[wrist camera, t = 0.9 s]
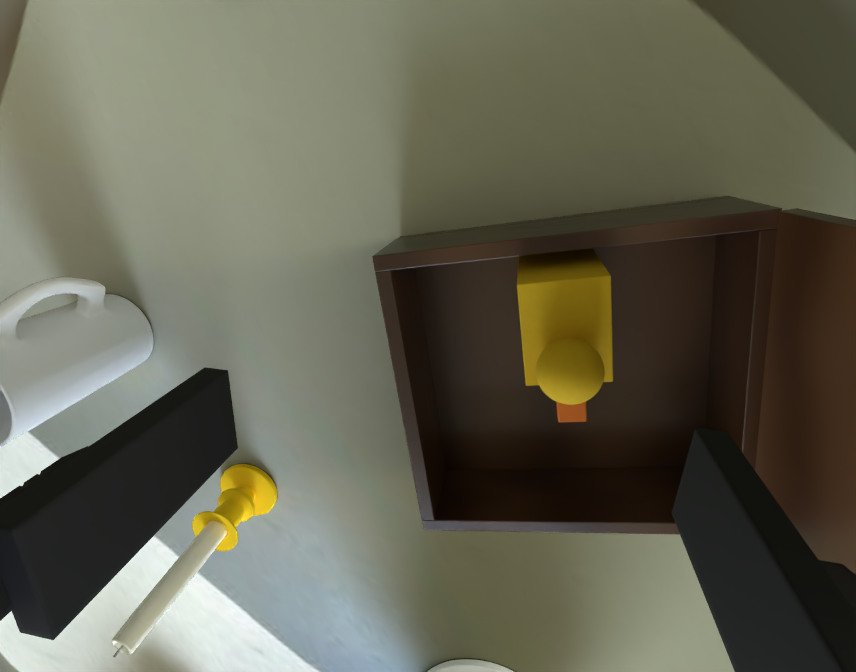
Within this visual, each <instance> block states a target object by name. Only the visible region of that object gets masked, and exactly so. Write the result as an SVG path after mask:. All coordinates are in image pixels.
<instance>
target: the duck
mask: <svg viewBox="0 0 856 672" xmlns="http://www.w3.org/2000/svg"><path fill="white" fill-rule="evenodd" d="M517 293H518V304H519V316H520V327H521V338H522V349H523V360H524V372H525V383H526V386H534V385H539V386H540V387H541V389H542V391H543V392H544V393H545V394H546V395H547V396H548V397H550V398H551V399H552V400H554V401H556V403H557V417H558V422H585V421H587V411H586V401H587V400H589V399H591V398H592V397H593V396H595V394H596V393H597V392H598V391H599V390H600V388H601V386H602V384H603V382H612V381H613V349H612V304H611V276H610V274H609V273H608V271H607V270H606V268H605V266H604V265H603V263H602V262H601V260H600V259H599V257H598V256H597V254H596V253H595V251H594V250H593V248H591V249H582V250H572V251H563V252H554V253H545V254H536V255H526V256H519V260H518V275H517Z"/></svg>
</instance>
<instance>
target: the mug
mask: <svg viewBox="0 0 856 672" xmlns="http://www.w3.org/2000/svg"><path fill="white" fill-rule="evenodd" d="M66 293H73V294H77V296H78V298H77V302H75V303H71V304H68V305H65V306H62V307H59V308H56V309H53V310H50V311H46V312H43V313H40V314H37V315H34V316H31V317H27V318H24V319H21V320H19V319H20V318H21V316H22V315H23V314H24V313H25V312H26V311H27V310H28V309H29V308H30V307H31V306H33V305H34V304H35V303H37V302H39V301H40V300H42V299H44V298H47V297H50V296H53V295H57V294H66ZM153 342H154V340H153V332H152V329H151V326H150V324H149V322H148V320H147V318H146V317H145V315H144V314H143V313H142V311H141V310H140V309H139V308H138V307H137V306H136V305H134V304H133V303H132V302H130V301H129V300H127V299H125V298H123V297H120V296H117V295H113V294H105V287H104V286H103V285H102V284H100V283H98V282H96V281H94V280H87V279H79V278H71V277H58V278H51V279H46V280H42V281H39V282H36V283H34V284H32V285H29V286H27V287H25V288H23V289H21V290H20V291H18V292H16V293H14V294H13V295H11V296H10V297H8V298H6V299H5V300H4V301H2V302H1V303H0V447H2V446H4V445H5V444H7V443H8V442H10V441H11V440H13V439H15V438H17V437H18V436H20V435H22V434H24V433H26V432H27V431H29V430H31V429H33V428H34V427H36V426H38V425H39V424H41V423H43V422H44V421H46V420H48V419H49V418H51V417H53V416H54V415H56V414H58V413H59V412H61V411H63V410H64V409H66V408H68V407H69V406H71V405H73V404H74V403H76V402H78V401H79V400H81V399H83V398H84V397H86V396H88V395H89V394H91V393H93V392H95V391H96V390H98V389H100V388H101V387H103V386H105V385H106V384H108V383H110V382H112V381H113V380H115V379H117V378H118V377H120V376H122V375H123V374H125V373H126V372H128V371H130V370H131V369H133V368H135V367H136V366H138V365H140V364H141V363H143V362H144V361H145V360H146V359H147V358H148V357H149V356H150V354H151V352H152V349H153Z"/></svg>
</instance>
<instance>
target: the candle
mask: <svg viewBox="0 0 856 672" xmlns="http://www.w3.org/2000/svg"><path fill="white" fill-rule="evenodd" d="M220 486H221V491H222V493H221V494H220V496H219V498H218V505H219V506H218V507H217V508H216V509H215V511H214V512H211V511H204V512H201V513H199V514H198V515H196V516H195V518H194V519H193V523H192V527H193V531H194V533H195V535H196V538H195V539H194V540H193V542H192V543H191V544H190V545H189V546H188V548H187V549H186V550H185V551H184V552H183V554H182V555H181V556H180V557H179V558H178V560H177V561H176V562H175V563H174V564H173V566H172V567H171V568H170V569H169V570H168V572H167V573H166V574H165V575H164V576H163V578H162V579H161V580H160V581H159V582H158V584H157V585H156V586H155V587H154V588H153V590H152V591H151V592H150V593H149V594H148V596H147V597H146V598H145V599H144V600H143V602H142V603H141V604H140V605H139V606H138V608H137V609H136V610H135V611H134V612H133V614H132V615H131V616H130V617H129V619H128V620H127V621H126V622H125V624H124V625H123V626H122V628H121V629H120V630H119V631H118V633H117V634H116V635H115V637H114V638H113V639H112V641H111V642H112V644H113V645H114V646H115V647H116V648H117V649H118V651H117V652H116V654H115V655H114V656H113V657H115V656H116V655H117V654H118V653H119V652H120V651H121V652H123V653H125V654H128V655H131V654H132V653H133V652H134V651H135V649H136V648H137V647H138V646H139V645H140V643H141V642H142V641H143V640H144V639H145V637H146V636H147V635H148V634H149V633H150V631H151V630H152V629H153V628H154V626H155V625H156V624H157V623H158V621H159V620H160V619H161V617H162V616H163V615H164V614H165V612H166V611H167V610H168V609H169V607H170V606H171V605H172V603H173V602H174V601H175V600H176V598H177V597H178V596H179V595H180V593H181V592H182V591H183V589H184V588H185V587H186V586H187V584H188V583H189V582H190V581H191V579H192V578H193V577H194V575H195V574H196V573H197V572H198V570H199V569H200V568H201V567H202V565H203V564H204V563H205V561H206V560H207V559H208V558H209V556H210V555H211V554H212V553H213V551H214V550H217V551H228V550H231V549H232V548H234V547H235V545H236V544H237V542H238V533H237V530H236V528H235V527H237V526H238V524H239V523H240V522H242V521H246V520H248V519H250V518H251V517H252V515H262V514H265V513H267V512H268V511H270V510H271V509H272V507H273V506H274V504H275V503H276V500H277V489H276V486H275V484H274V482H273V481H272V479H271V478H270V476H268V475H267V474H266V473H265V472H264V471H263V470H261V469H259V468H258V467H255V466H253V465H248V464H236V465H233V466H231V467H230V468H228V469H227V470H226V471H225V472H224V474H223V475H222V477H221V482H220Z"/></svg>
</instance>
